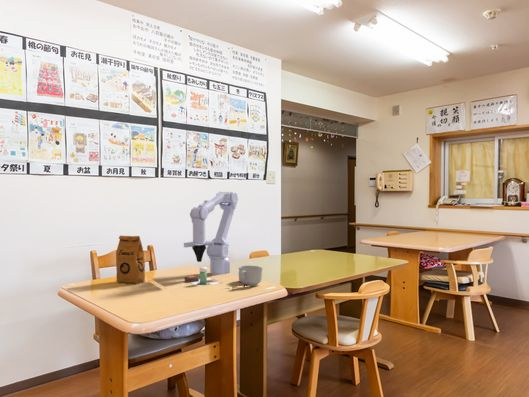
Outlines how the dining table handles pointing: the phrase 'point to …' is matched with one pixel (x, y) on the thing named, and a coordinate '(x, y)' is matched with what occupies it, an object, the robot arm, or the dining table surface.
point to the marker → (203, 275)
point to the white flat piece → (197, 281)
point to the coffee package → (130, 260)
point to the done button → (191, 277)
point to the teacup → (250, 275)
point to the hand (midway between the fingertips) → (199, 261)
